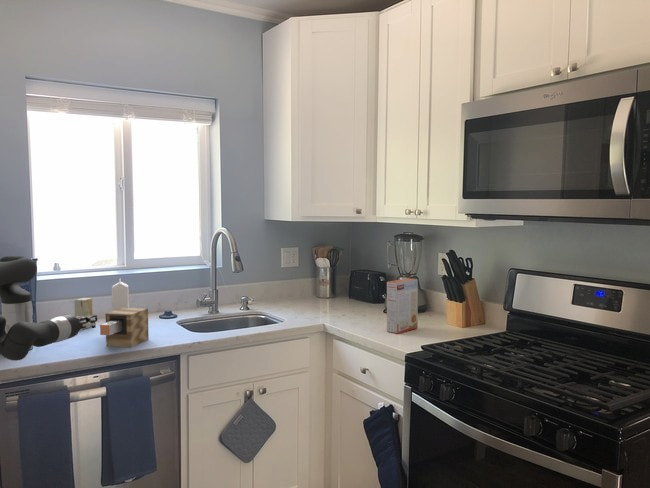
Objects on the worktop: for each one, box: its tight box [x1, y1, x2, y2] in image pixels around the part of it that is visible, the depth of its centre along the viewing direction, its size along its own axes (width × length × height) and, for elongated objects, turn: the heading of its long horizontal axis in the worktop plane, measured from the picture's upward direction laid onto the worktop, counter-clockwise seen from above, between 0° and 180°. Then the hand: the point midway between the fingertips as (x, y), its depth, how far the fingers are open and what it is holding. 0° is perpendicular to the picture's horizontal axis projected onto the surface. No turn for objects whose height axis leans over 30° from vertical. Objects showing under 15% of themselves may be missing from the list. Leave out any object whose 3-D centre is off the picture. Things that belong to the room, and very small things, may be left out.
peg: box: [99, 319, 124, 336], centre depth 194 cm, size 12×4×4 cm, turn 168°
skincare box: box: [74, 297, 93, 330], centre depth 226 cm, size 6×4×12 cm
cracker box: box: [386, 277, 419, 334], centre depth 222 cm, size 14×6×21 cm, turn 134°
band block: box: [105, 307, 150, 348], centre depth 202 cm, size 12×10×12 cm
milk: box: [111, 277, 130, 312], centre depth 217 cm, size 6×6×22 cm
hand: (95, 317), depth 182 cm, fingers closed
